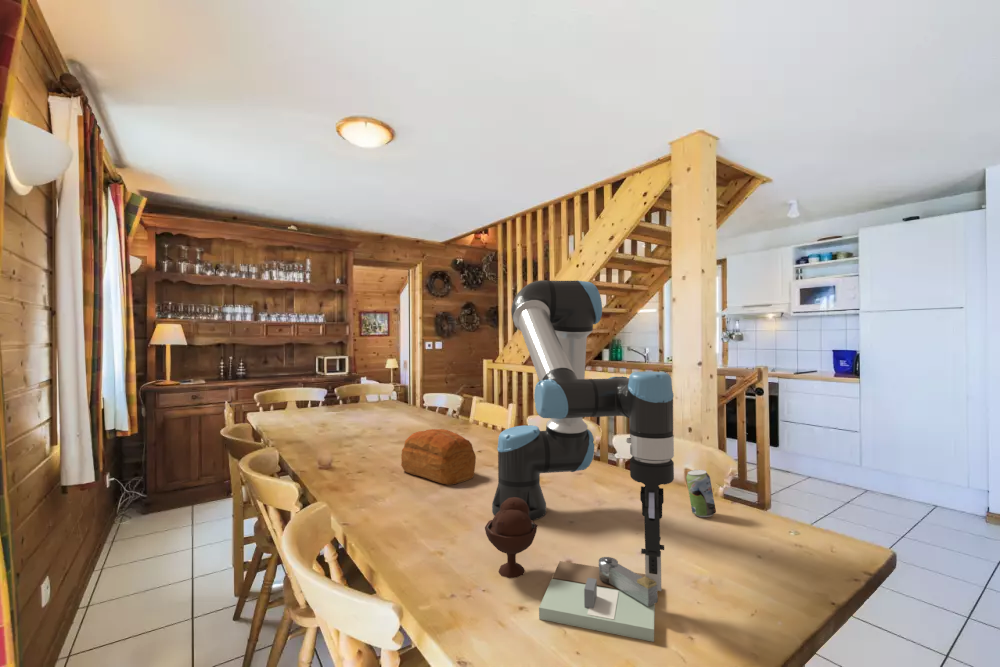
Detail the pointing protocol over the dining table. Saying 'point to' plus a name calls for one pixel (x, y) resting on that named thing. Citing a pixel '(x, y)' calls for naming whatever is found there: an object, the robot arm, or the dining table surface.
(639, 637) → the door slab
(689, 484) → the beverage can
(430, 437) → the bread
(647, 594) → the bar
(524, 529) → the ice cream bowl
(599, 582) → the strip
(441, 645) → the dining table surface
